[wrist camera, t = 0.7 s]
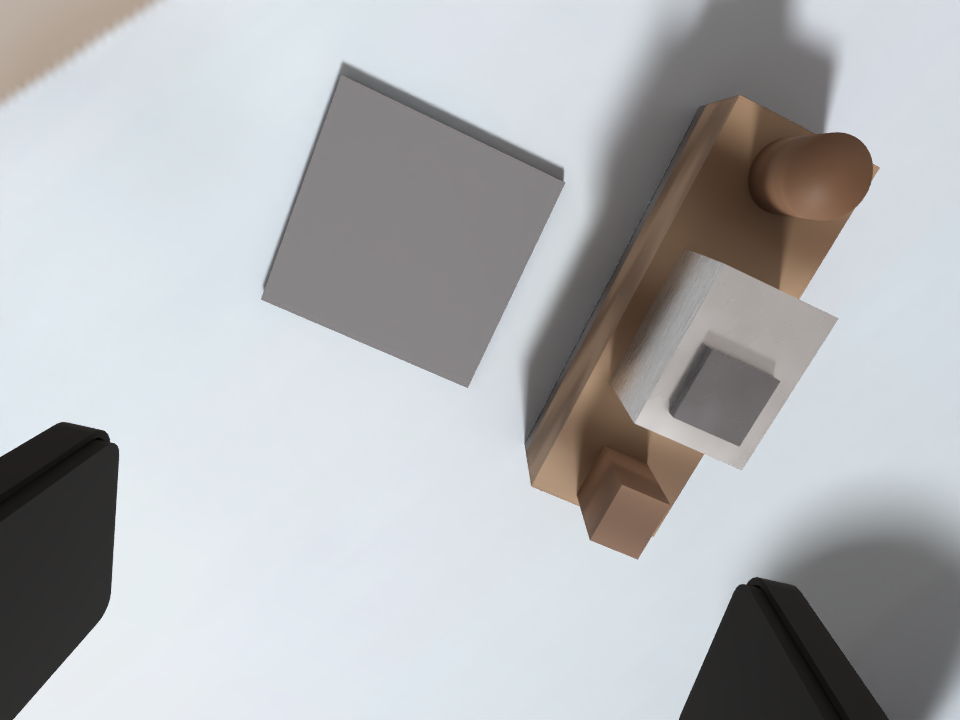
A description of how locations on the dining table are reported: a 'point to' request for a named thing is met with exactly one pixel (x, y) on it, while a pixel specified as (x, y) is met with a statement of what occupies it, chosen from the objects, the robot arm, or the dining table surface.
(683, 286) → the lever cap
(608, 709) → the dining table surface
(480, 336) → the rubber mat
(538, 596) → the dining table surface
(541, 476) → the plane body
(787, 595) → the robot arm
